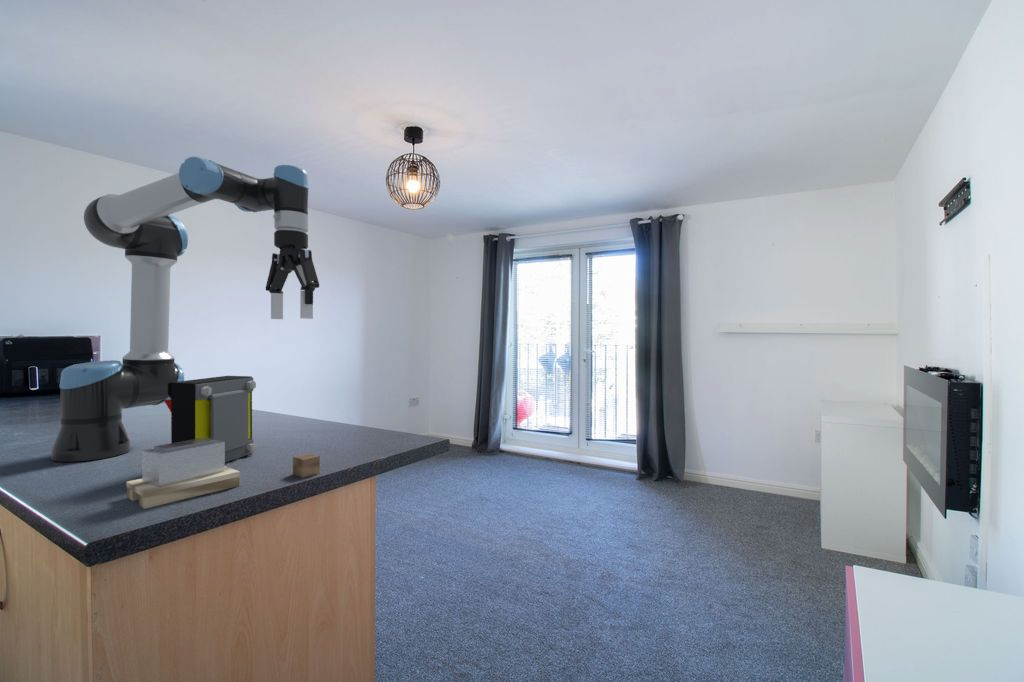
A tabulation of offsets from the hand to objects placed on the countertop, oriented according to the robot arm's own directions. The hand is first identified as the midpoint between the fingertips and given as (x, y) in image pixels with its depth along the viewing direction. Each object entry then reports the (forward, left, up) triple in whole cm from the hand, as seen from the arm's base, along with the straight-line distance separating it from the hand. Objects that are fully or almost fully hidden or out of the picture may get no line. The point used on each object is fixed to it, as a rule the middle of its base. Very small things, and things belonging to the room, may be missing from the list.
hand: (291, 319), depth 117 cm
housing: (+6, -25, -32) cm, 41 cm away
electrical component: (-13, -12, -35) cm, 39 cm away
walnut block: (+13, -4, -35) cm, 38 cm away
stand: (+6, -25, -35) cm, 43 cm away
